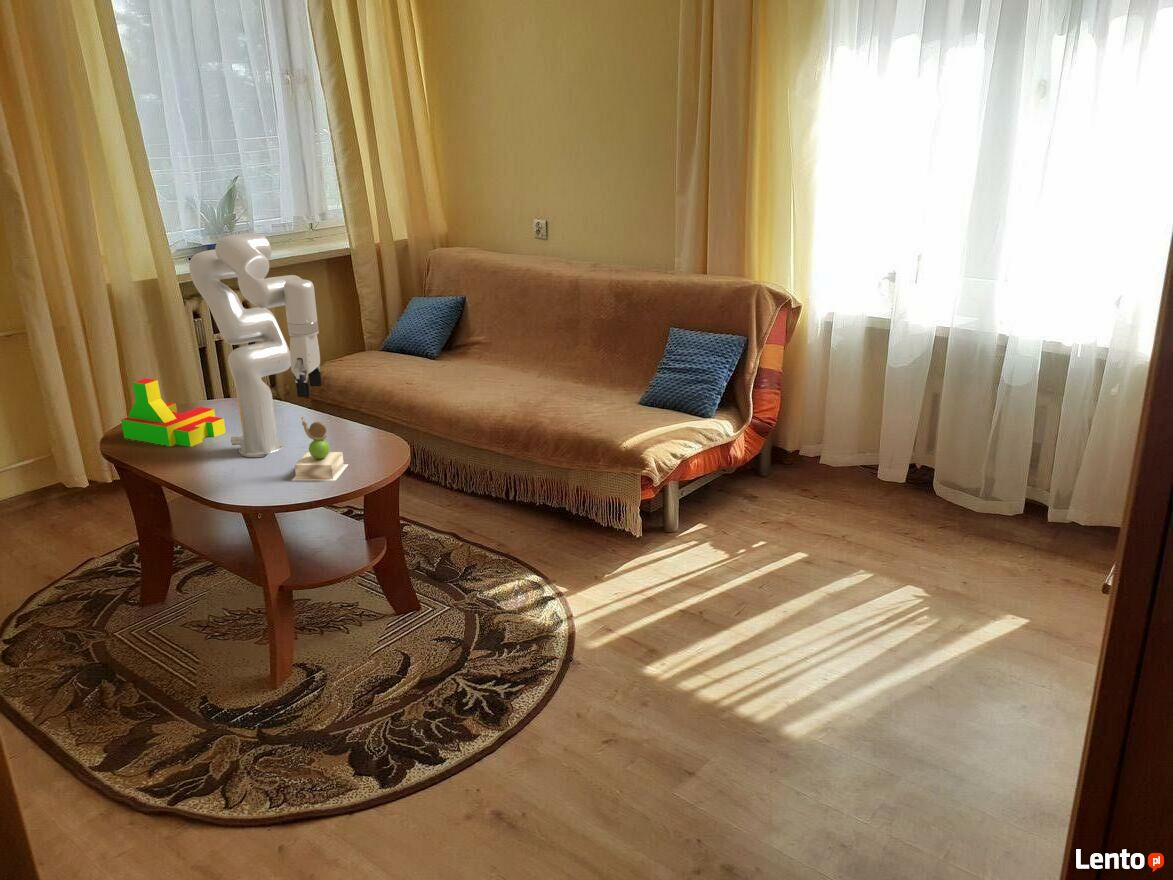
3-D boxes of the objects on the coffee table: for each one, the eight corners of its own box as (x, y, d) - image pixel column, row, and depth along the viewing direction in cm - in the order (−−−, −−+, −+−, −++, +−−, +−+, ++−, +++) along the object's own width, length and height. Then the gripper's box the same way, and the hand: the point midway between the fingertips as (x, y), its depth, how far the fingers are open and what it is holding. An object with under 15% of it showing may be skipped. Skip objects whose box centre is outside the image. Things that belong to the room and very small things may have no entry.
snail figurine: (308, 455, 255) (303, 413, 251) (332, 454, 255) (327, 412, 251) (304, 462, 249) (299, 420, 245) (328, 461, 250) (323, 419, 246)
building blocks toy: (184, 450, 276) (174, 391, 270) (124, 439, 286) (113, 382, 280) (231, 431, 292) (223, 375, 286) (173, 421, 302) (163, 367, 296)
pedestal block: (296, 478, 249) (294, 465, 248) (308, 465, 258) (306, 452, 257) (332, 479, 249) (331, 465, 247) (343, 465, 258) (342, 452, 257)
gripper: (300, 320, 248) (306, 382, 254) (276, 336, 232) (284, 401, 238) (327, 320, 248) (333, 382, 254) (306, 336, 232) (313, 401, 238)
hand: (310, 391), depth 246 cm, fingers open, 9 cm apart
